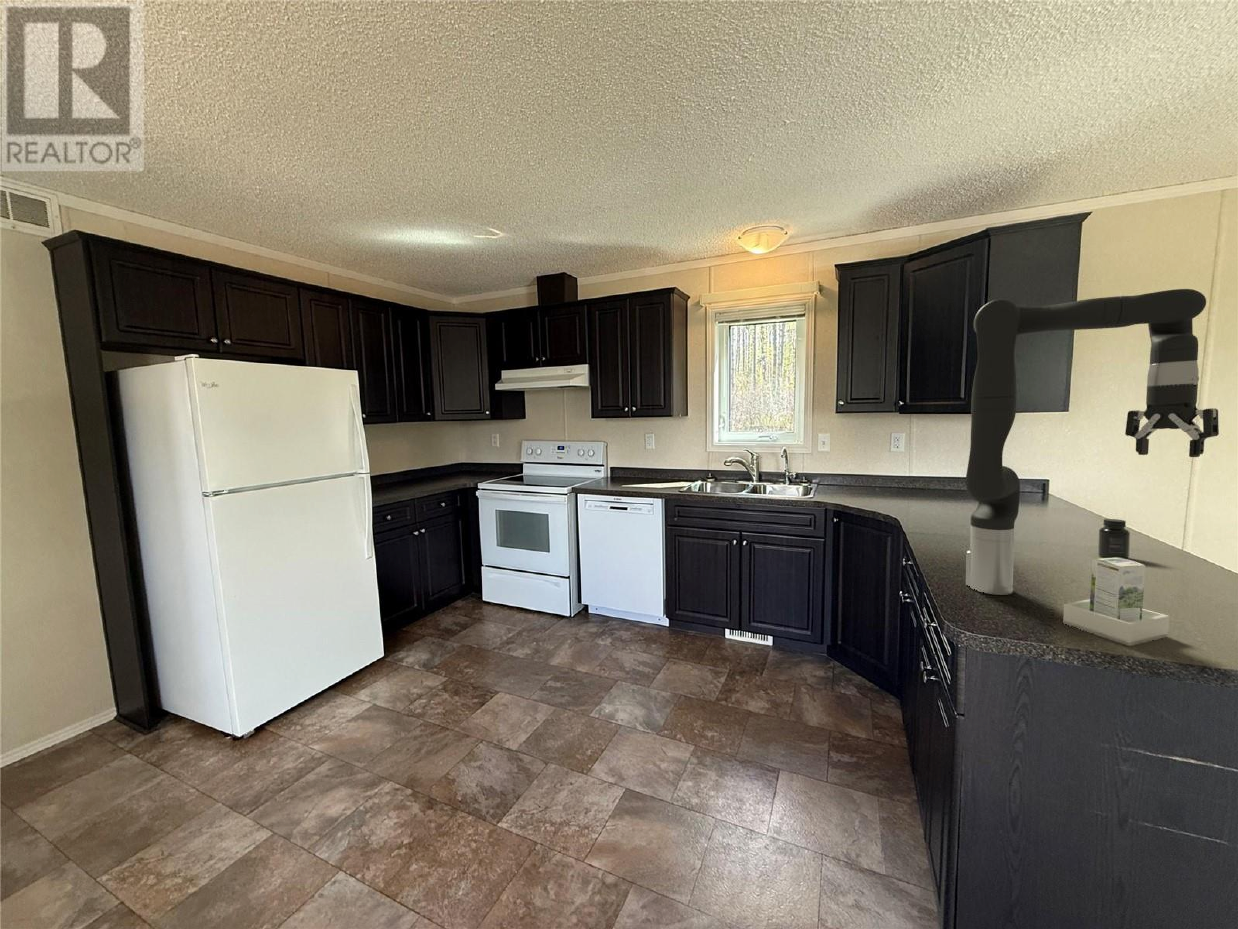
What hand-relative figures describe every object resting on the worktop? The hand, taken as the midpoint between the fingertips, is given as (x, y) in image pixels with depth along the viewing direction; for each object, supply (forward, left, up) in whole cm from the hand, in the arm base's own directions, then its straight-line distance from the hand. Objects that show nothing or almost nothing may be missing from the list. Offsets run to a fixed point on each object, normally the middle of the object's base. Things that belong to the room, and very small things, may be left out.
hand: (1168, 455), depth 110 cm
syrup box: (+3, -21, -36) cm, 41 cm away
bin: (+3, -21, -36) cm, 42 cm away
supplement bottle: (-30, +39, -36) cm, 61 cm away
